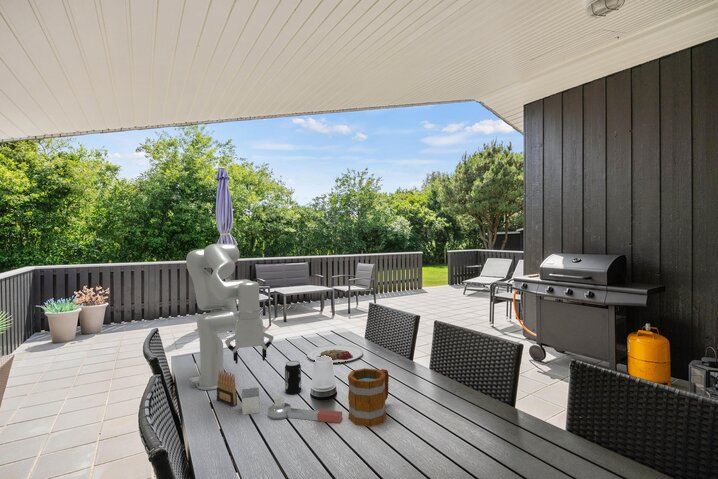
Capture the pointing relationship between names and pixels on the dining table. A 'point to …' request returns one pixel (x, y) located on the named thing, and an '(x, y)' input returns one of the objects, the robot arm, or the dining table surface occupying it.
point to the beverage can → (293, 377)
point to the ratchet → (301, 413)
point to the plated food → (336, 352)
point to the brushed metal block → (250, 401)
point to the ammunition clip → (226, 389)
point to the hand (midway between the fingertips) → (250, 361)
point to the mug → (368, 396)
